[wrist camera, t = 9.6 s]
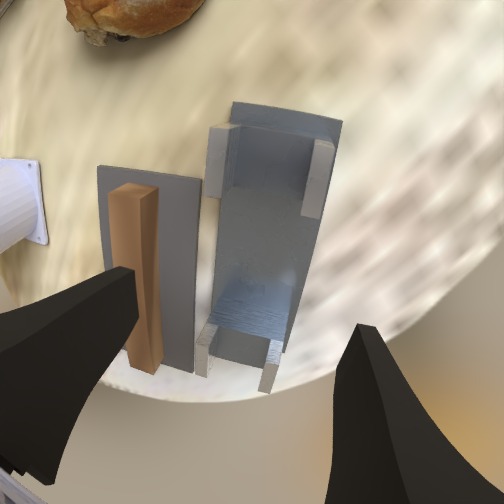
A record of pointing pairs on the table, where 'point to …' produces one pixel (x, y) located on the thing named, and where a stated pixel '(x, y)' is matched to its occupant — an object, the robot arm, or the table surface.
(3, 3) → the coffee box
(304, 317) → the table surface
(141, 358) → the rail
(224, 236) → the stand
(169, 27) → the bread roll
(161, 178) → the mat
